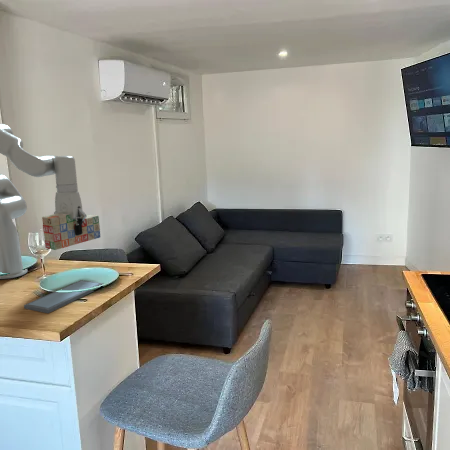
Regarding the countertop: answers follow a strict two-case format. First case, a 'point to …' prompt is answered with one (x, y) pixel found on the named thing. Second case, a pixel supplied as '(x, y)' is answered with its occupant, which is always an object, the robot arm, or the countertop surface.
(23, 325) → the countertop surface
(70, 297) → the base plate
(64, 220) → the stack of blocks
